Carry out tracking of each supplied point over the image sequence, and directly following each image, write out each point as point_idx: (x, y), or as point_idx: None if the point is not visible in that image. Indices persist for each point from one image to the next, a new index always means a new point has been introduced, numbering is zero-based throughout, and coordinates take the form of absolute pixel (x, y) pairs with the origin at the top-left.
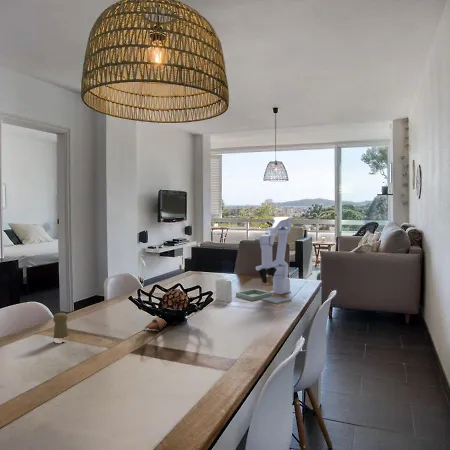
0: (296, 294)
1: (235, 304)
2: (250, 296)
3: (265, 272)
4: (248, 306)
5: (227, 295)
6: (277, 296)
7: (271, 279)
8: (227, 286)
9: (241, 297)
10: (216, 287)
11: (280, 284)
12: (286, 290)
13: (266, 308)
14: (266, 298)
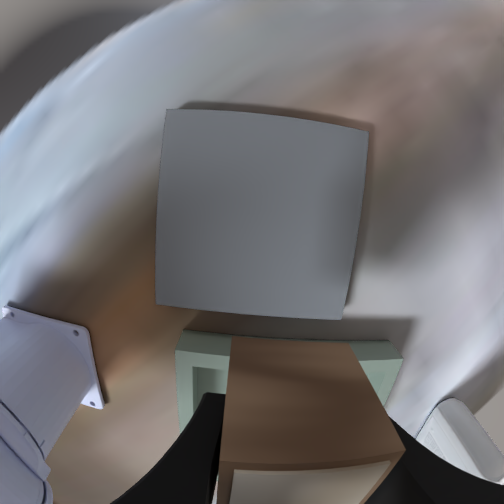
0: (9, 238)
1: (473, 350)
2: (395, 378)
3: (502, 500)
4: (484, 268)
5: (474, 420)
6: (171, 275)
7: (268, 406)
8: (497, 452)
9: None
10: None
11: (31, 372)
12: (19, 327)
13: (466, 141)
14: (301, 301)
